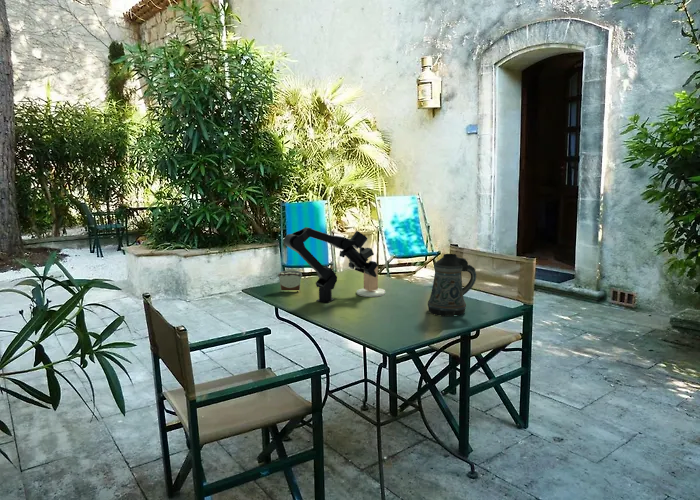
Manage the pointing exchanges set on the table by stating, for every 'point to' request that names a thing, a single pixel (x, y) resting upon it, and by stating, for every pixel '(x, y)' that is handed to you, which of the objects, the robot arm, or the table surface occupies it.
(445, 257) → the beer stein
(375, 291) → the cream plate
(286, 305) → the table surface
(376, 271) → the tan tall block
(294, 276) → the food container
